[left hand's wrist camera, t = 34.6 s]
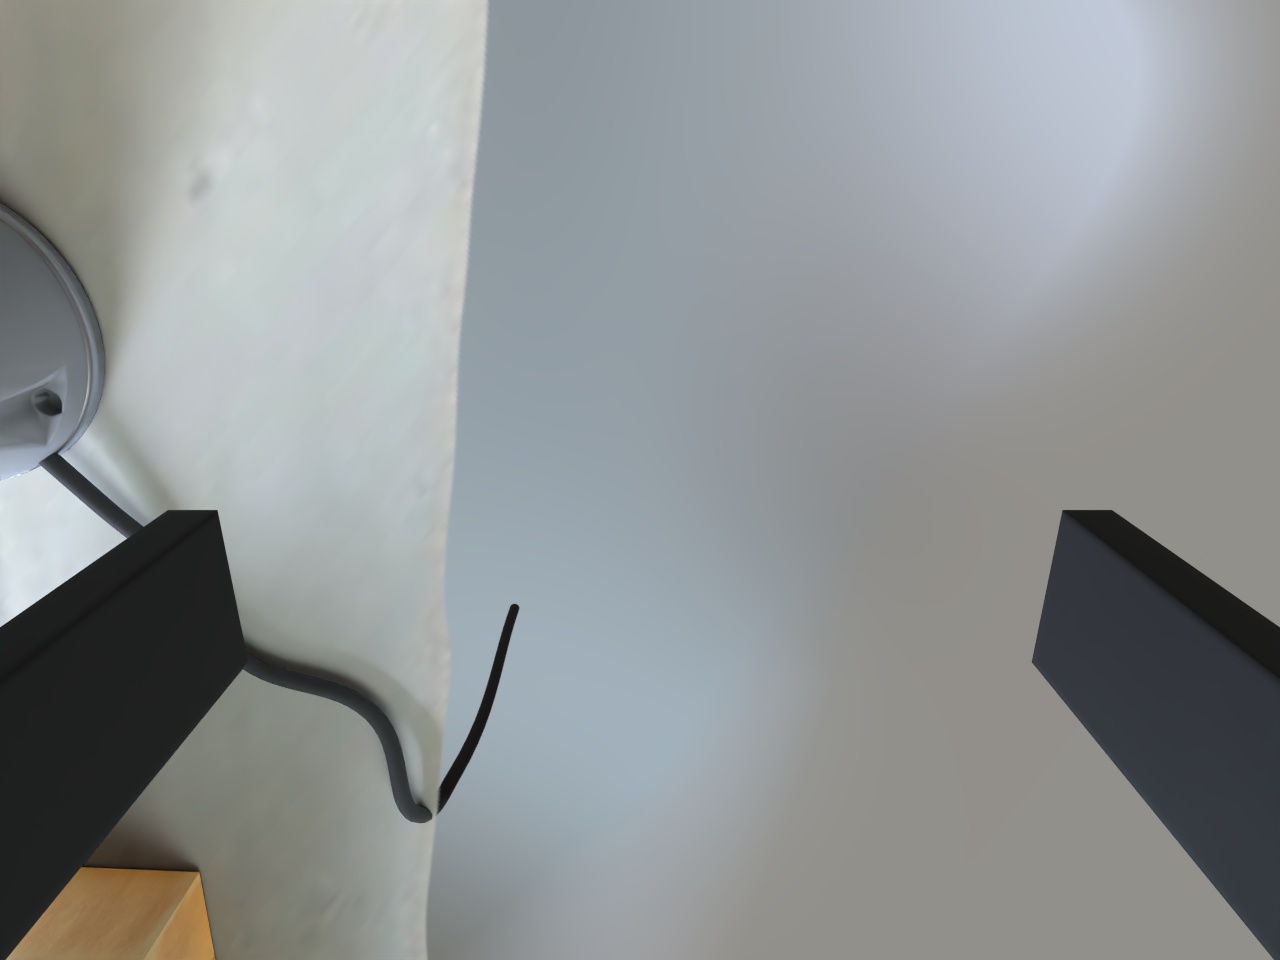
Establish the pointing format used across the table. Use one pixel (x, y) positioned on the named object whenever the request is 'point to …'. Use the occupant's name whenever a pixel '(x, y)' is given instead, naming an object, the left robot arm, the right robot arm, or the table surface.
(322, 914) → the table surface
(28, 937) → the bread
